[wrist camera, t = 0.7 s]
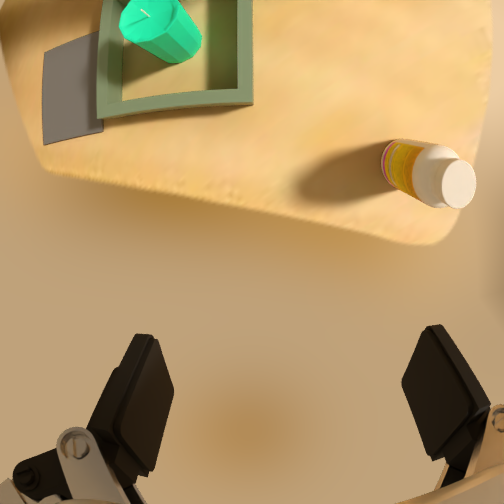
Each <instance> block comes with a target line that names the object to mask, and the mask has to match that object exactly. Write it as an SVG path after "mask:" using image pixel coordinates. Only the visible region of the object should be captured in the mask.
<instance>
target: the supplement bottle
mask: <svg viewBox="0 0 504 504" xmlns="http://www.w3.org/2000/svg"><path fill="white" fill-rule="evenodd" d="M381 168H382V172H383V175H384V177H385V179H386V180H387V181H388V183H389V184H391V185H392V186H393V187H395V188H397V189H399V190H401V191H403V192H405V193H407V194H408V195H410V196H412V197H414V198H416V199H418V200H419V201H421V202H423V203H425V204H426V205H428V206H431V207H434V208H443V207H447V206H449V207H451V208H455V209H460V208H463V207H465V206H466V205H467V204H468V203H469V202H470V201H471V200H472V198H473V196H474V193H475V189H476V177H475V173H474V170H473V168H472V167H471V166H470V165H469V164H468V163H467V162H466V161H463V160H461V159H460V158H459V157H458V155H457V154H456V153H455V152H454V151H453V150H452V149H450V148H448V147H446V146H443V145H438V144H433V143H427V142H422V141H416V140H409V139H397V140H395V141H393V142H391V143H390V144H389V145H388V146H387V147H386V148H385V150H384V152H383V154H382V158H381Z"/></svg>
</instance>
